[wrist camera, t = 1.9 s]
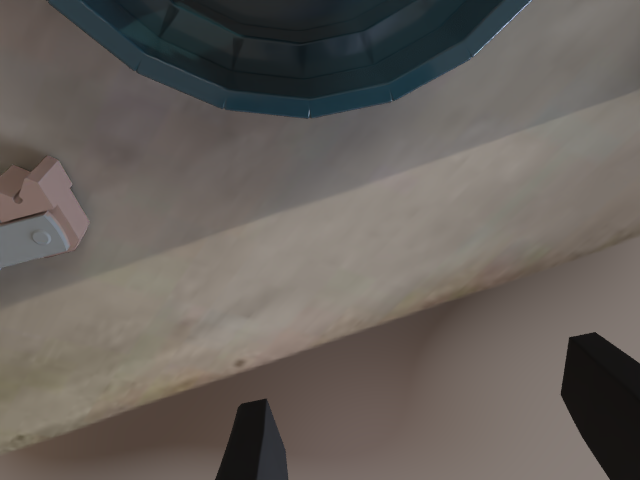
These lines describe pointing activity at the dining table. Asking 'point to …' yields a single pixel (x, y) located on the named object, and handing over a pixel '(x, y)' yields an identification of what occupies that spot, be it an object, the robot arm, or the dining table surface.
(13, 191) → the clamp
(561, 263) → the dining table surface
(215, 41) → the bowl
